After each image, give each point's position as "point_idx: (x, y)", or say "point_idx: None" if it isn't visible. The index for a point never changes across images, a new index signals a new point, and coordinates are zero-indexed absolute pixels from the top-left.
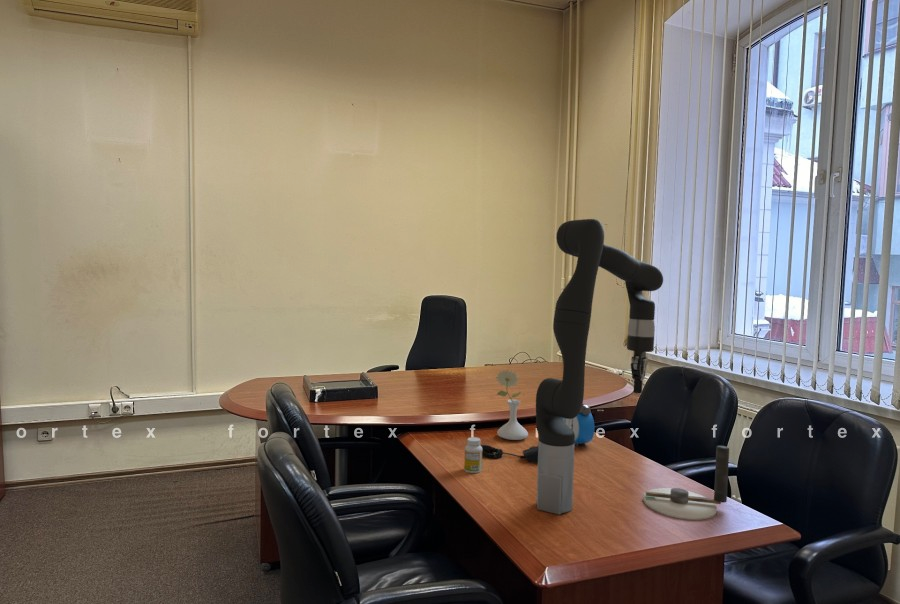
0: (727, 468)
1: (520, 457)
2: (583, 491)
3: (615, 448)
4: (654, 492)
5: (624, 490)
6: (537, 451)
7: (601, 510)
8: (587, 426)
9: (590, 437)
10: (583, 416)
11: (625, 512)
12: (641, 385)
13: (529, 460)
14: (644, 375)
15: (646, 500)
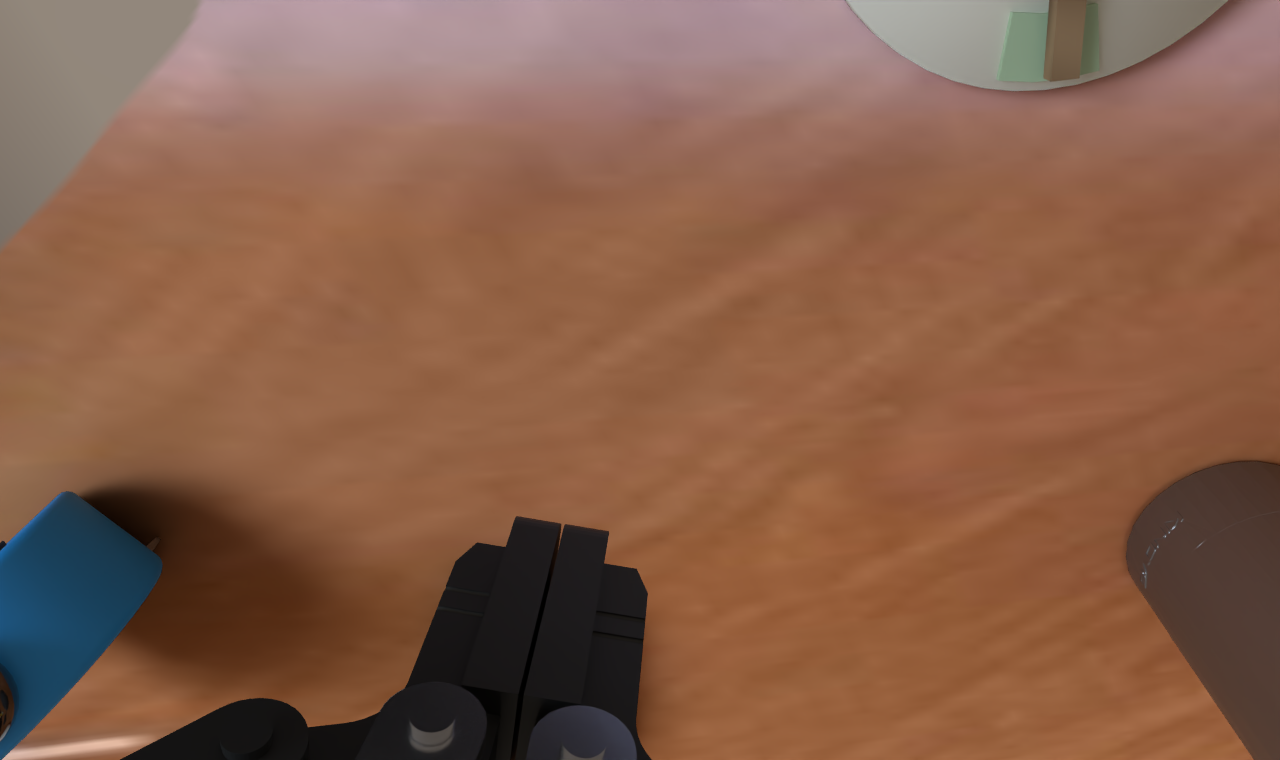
0: None
1: None
2: (967, 431)
3: (12, 313)
4: (1058, 18)
5: (876, 212)
6: None
7: (1242, 320)
8: (70, 588)
9: (83, 510)
10: (19, 669)
11: (1255, 189)
12: (592, 631)
13: None
14: (264, 748)
15: (1106, 68)
